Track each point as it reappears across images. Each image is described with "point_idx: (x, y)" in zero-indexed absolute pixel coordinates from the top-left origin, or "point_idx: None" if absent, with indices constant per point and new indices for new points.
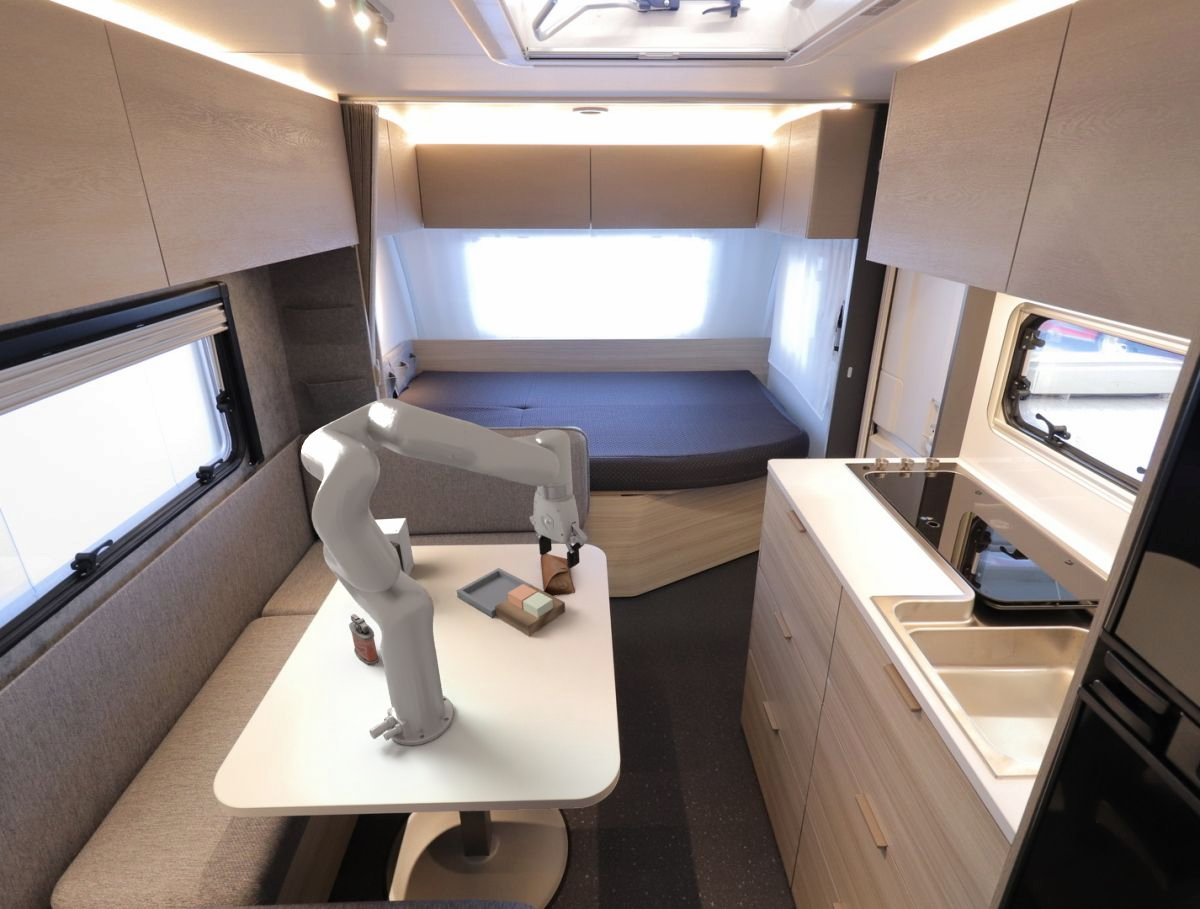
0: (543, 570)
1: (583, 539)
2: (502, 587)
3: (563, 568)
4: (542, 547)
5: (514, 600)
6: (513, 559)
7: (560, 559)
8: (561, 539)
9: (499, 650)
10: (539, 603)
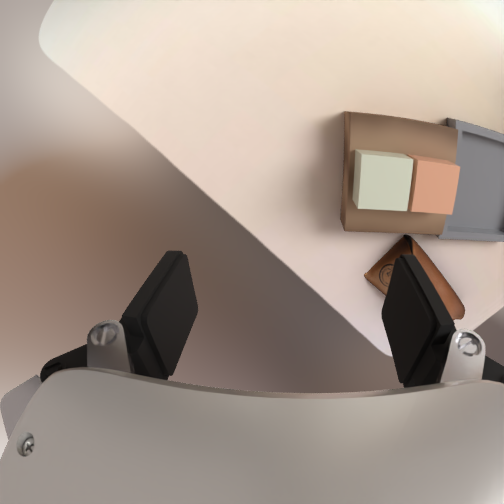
0: (443, 283)
1: (1, 404)
2: (484, 206)
3: None
4: (411, 292)
5: (436, 160)
6: (498, 278)
7: None
8: (55, 399)
9: (357, 44)
10: (373, 176)
